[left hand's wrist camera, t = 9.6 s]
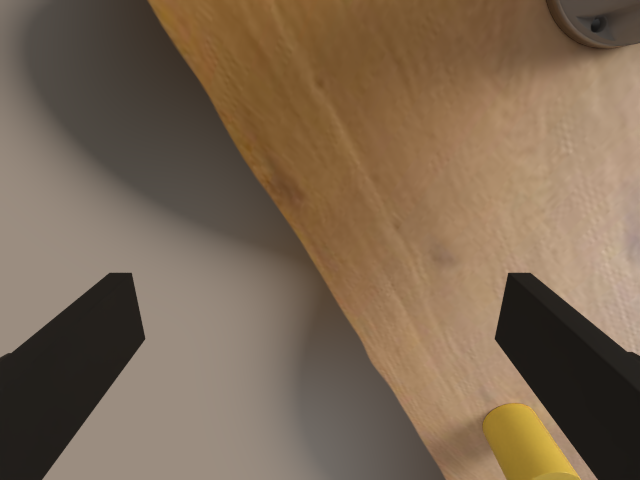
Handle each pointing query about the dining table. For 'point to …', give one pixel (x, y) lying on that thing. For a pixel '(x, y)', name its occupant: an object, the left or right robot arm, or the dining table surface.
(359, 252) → the dining table surface
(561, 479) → the cylinder
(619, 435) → the left robot arm
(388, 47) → the dining table surface
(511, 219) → the dining table surface
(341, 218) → the dining table surface
